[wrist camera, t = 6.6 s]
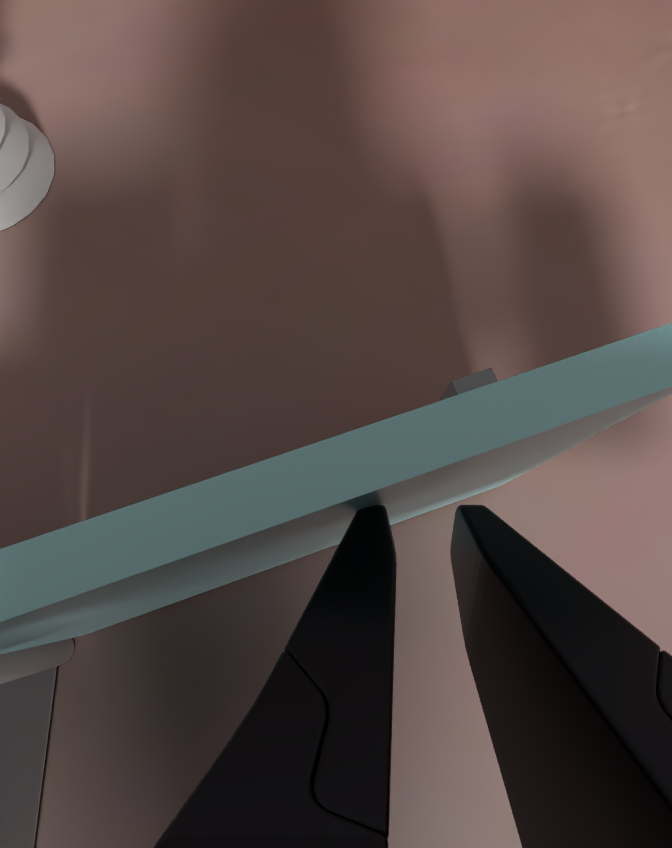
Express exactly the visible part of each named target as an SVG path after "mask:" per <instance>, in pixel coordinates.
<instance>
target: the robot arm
mask: <svg viewBox="0 0 672 848" xmlns="http://www.w3.org/2000/svg"><path fill="white" fill-rule="evenodd" d="M451 563H452V569H453V575H454V581H455V587H456V593H457V600H458V606H459V612H460V618H461V624H462V631H463V636H464V642H465V647H466V651H467V655H468V659H469V663H470V666H471V670H472V673H473V677H474V680H475V684H476V687H477V691H478V694H479V698H480V701H481V705H482V708H483V712H484V715H485V719H486V722H487V726H488V729H489V733H490V736H491V740H492V743H493V747H494V750H495V754H496V757H497V761H498V764H499V768H500V771H501V774H502V778H503V781H504V785H505V788H506V792H507V795H508V799H509V802H510V806H511V809H512V813H513V816H514V820H515V823H516V827H517V830H518V834H519V837H520V841H521V844H522V848H672V656H671V655H670V654H669V653H667V652H666V651H661V652H660V647H659V646H658V645H657V644H656V643H655V642H653V641H652V640H651V639H650V638H648V637H647V636H646V635H645V634H643V633H642V632H641V631H640V630H639V629H637V628H636V627H635V626H634V625H632V624H631V623H630V622H629V621H627V620H626V619H625V618H624V617H622V616H621V615H620V614H619V613H617V612H616V611H615V610H614V609H612V608H611V607H610V606H609V605H607V604H606V603H605V602H604V601H602V600H601V599H600V598H599V597H597V596H596V595H595V594H594V593H593V592H591V591H590V590H589V589H588V588H586V587H585V586H584V585H583V584H581V583H580V582H579V581H578V580H576V579H575V578H574V577H573V576H571V575H570V574H569V573H568V572H566V571H565V570H564V569H563V568H561V567H560V566H559V565H558V564H556V563H555V562H554V561H553V560H551V559H550V558H549V557H548V556H546V555H545V554H544V553H543V552H542V551H540V550H539V549H538V548H537V547H535V546H534V545H533V544H532V543H530V542H529V541H528V540H527V539H525V538H524V537H523V536H522V535H520V534H519V533H518V532H517V531H515V530H514V529H513V528H512V527H510V526H509V525H508V524H507V523H505V522H504V521H503V520H502V519H500V518H499V517H498V516H497V515H496V514H494V513H493V512H492V511H491V510H489V509H488V508H487V507H485V506H483V505H460V506H459V507H458V508H457V509H456V513H455V519H454V526H453V533H452V540H451ZM396 567H397V563H396V551H395V545H394V541H393V536H392V532H391V527H390V523H389V518H388V514H387V509H386V507H385V506H383V505H374V506H370V507H367V508H364V509H360V510H358V511H356V513H355V515H354V517H353V519H352V521H351V523H350V525H349V527H348V529H347V531H346V532H345V534H344V536H343V538H342V540H341V542H340V544H339V546H338V548H337V550H336V551H335V553H334V555H333V557H332V559H331V561H330V563H329V565H328V567H327V569H326V570H325V572H324V574H323V576H322V578H321V580H320V582H319V584H318V586H317V588H316V590H315V591H314V593H313V595H312V597H311V599H310V601H309V603H308V605H307V607H306V609H305V610H304V612H303V614H302V616H301V618H300V620H299V622H298V624H297V626H296V628H295V629H294V631H293V633H292V635H291V637H290V639H289V641H288V643H287V645H286V647H285V649H284V652H283V653H282V654H281V655H280V657H279V659H278V661H277V663H276V665H275V667H274V669H273V671H272V673H271V674H270V676H269V678H268V680H267V681H266V683H265V685H264V687H263V688H262V690H261V692H260V694H259V695H258V697H257V699H256V701H255V702H254V704H253V706H252V707H251V709H250V710H249V712H248V713H247V715H246V716H245V718H244V719H243V721H242V722H241V724H240V725H239V727H238V728H237V730H236V731H235V733H234V734H233V736H232V737H231V739H230V740H229V742H228V743H227V745H226V746H225V748H224V749H223V750H222V752H221V753H220V755H219V756H218V757H217V759H216V760H215V762H214V763H213V765H212V766H211V767H210V769H209V770H208V772H207V773H206V774H205V776H204V777H203V779H202V780H201V781H200V783H199V784H198V786H197V787H196V788H195V790H194V791H193V793H192V794H191V795H190V797H189V798H188V800H187V801H186V803H185V804H184V805H183V807H182V808H181V810H180V811H179V812H178V814H177V815H176V817H175V818H174V819H173V821H172V822H171V824H170V825H169V826H168V828H167V829H166V831H165V832H164V833H163V835H162V836H161V838H160V839H159V840H158V842H157V843H156V844H155V846H154V847H153V848H388V837H389V810H390V775H391V740H392V706H393V671H394V636H395V601H396Z"/></svg>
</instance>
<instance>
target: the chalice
mask: <svg viewBox="0 0 672 848" xmlns="http://www.w3.org/2000/svg"><path fill="white" fill-rule="evenodd" d="M53 177H54V153H53V151H52V148H51V146H50V144H49V141H48V139H47V137H46V136H45V135H44V134H43V133H42V132H41V131H40V130H39V129H38V128H37V127H36V126H35V125H34V124H32V123H30V122H28V121H26V120H24V119H22V118H20V117H18V116H17V115H16V114H15V113H14V112H13V111H12V110H11V109H10V108H9V107H7V106H5V105H2V104H0V230H3V229H6V228H8V227H11V226H13V225H14V224H16V223H17V222H19V221H20V220H22V219H23V218H24V217H26V216H27V215H29V214H30V213H31V212H33V211H34V209H35V208H36V207H37V206H38V204H39V203H40V202H41V201H42V199H43V198H44V197H45V196H46V194H47V193H48V190H49V187H50V185H51V182H52V179H53Z"/></svg>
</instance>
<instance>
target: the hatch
mask: <svg viewBox="0 0 672 848" xmlns="http://www.w3.org/2000/svg"><path fill="white" fill-rule="evenodd" d="M671 394H672V323H670V324H667V325H664V326H661V327H658V328H655V329H652V330H649V331H646V332H643V333H640V334H637V335H634V336H631V337H628V338H625V339H622V340H619V341H616V342H613V343H610V344H607V345H604V346H601V347H598V348H596V349H593V350H590V351H587V352H584V353H581V354H578V355H575V356H572V357H569V358H566V359H563V360H560V361H557V362H554V363H551V364H548V365H545V366H542V367H539V368H536V369H533V370H530V371H527V372H524V373H521V374H518V375H515V376H512V377H509V378H506V379H503V380H500V381H497V379H496V377H495V375H494V373H493V371H492V368H489V369H486V370H483V371H480V372H477V373H474V374H471V375H468V376H465V377H462V378H459V379H456V380H453V381H452V382H451V383H450V385H449V386H448V388H447V390H446V391H445V393H444V394H443V396H442V397H441V399H440V401H438V402H435V403H432V404H429V405H426V406H423V407H420V408H417V409H414V410H411V411H408V412H405V413H402V414H399V415H396V416H393V417H390V418H388V419H385V420H382V421H379V422H376V423H373V424H370V425H367V426H364V427H361V428H358V429H355V430H352V431H349V432H346V433H343V434H340V435H337V436H334V437H331V438H328V439H325V440H322V441H319V442H316V443H313V444H310V445H307V446H304V447H301V448H298V449H295V450H292V451H289V452H286V453H283V454H281V455H278V456H275V457H272V458H269V459H266V460H263V461H260V462H257V463H254V464H251V465H248V466H245V467H242V468H239V469H236V470H233V471H230V472H227V473H224V474H221V475H218V476H215V477H212V478H209V479H206V480H203V481H200V482H197V483H194V484H191V485H188V486H185V487H182V488H179V489H177V490H174V491H171V492H168V493H165V494H162V495H159V496H156V497H153V498H150V499H147V500H144V501H141V502H138V503H135V504H132V505H129V506H126V507H123V508H120V509H117V510H114V511H111V512H108V513H105V514H102V515H99V516H96V517H93V518H90V519H87V520H84V521H81V522H78V523H75V524H73V525H70V526H67V527H64V528H61V529H58V530H55V531H52V532H49V533H46V534H43V535H40V536H37V537H34V538H31V539H28V540H25V541H22V542H19V543H16V544H13V545H10V546H7V547H4V548H1V549H0V654H4V653H9V652H13V651H17V650H22V649H26V648H31V647H35V646H39V645H44V644H48V643H52V642H57V641H61V640H66V639H70V638H74V637H79V636H83V635H87V634H89V633H92V632H95V631H98V630H100V629H103V628H106V627H109V626H112V625H114V624H117V623H120V622H123V621H126V620H128V619H131V618H134V617H137V616H139V615H142V614H145V613H148V612H151V611H153V610H156V609H159V608H162V607H165V606H167V605H170V604H173V603H176V602H178V601H181V600H184V599H187V598H190V597H192V596H195V595H198V594H201V593H204V592H206V591H209V590H212V589H215V588H217V587H220V586H223V585H226V584H229V583H231V582H234V581H237V580H240V579H243V578H245V577H248V576H251V575H254V574H256V573H259V572H262V571H265V570H268V569H270V568H273V567H276V566H279V565H282V564H284V563H287V562H290V561H293V560H295V559H298V558H301V557H304V556H307V555H309V554H312V553H315V552H318V551H321V550H323V549H326V548H329V547H332V546H334V545H337V544H340V542H341V540H342V538H343V536H344V534H345V532H346V531H347V529H348V527H349V525H350V523H351V521H352V519H353V517H354V515H355V513H356V511H358V510H360V509H364V508H367V507H370V506H374V505H383V506H385V507H386V509H387V514H388V518H389V523H390V525H393V524H396V523H399V522H401V521H404V520H407V519H410V518H412V517H415V516H418V515H421V514H424V513H426V512H429V511H432V510H435V509H438V508H440V507H443V506H446V505H449V504H451V503H454V502H457V501H460V500H463V499H465V498H468V497H471V496H474V495H477V494H479V493H482V492H485V491H488V490H490V489H493V488H496V487H499V486H501V485H503V484H505V483H507V482H509V481H511V480H513V479H514V478H516V477H518V476H520V475H522V474H524V473H526V472H527V471H529V470H531V469H533V468H535V467H537V466H539V465H540V464H542V463H544V462H546V461H548V460H550V459H552V458H553V457H555V456H557V455H559V454H561V453H563V452H565V451H567V450H568V449H570V448H572V447H574V446H576V445H578V444H580V443H581V442H583V441H585V440H587V439H589V438H591V437H593V436H594V435H596V434H598V433H600V432H602V431H604V430H606V429H607V428H609V427H611V426H613V425H615V424H617V423H619V422H621V421H622V420H624V419H626V418H628V417H630V416H632V415H634V414H635V413H637V412H639V411H641V410H643V409H645V408H647V407H648V406H650V405H652V404H654V403H656V402H658V401H660V400H662V399H663V398H665V397H667V396H669V395H671Z"/></svg>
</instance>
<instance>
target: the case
mask: <svg viewBox="0 0 672 848" xmlns="http://www.w3.org/2000/svg"><path fill="white" fill-rule="evenodd" d="M73 652H74V642H73V640H72V638H70V639H66V640H61V641H57V642H52V643H48V644H44V645H39V646H35V647H31V648H26V649H22V650H17V651H13V652H9V653H4V654H0V848H34V842H35V834H36V826H37V818H38V810H39V802H40V794H41V786H42V779H43V771H44V763H45V755H46V747H47V739H48V731H49V724H50V716H51V708H52V700H53V692H54V684H55V676H56V668H57V666H59V665H62V664H64V663H66V662H67V661H68V660H69V659H70V658H71V657H72V655H73Z"/></svg>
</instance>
